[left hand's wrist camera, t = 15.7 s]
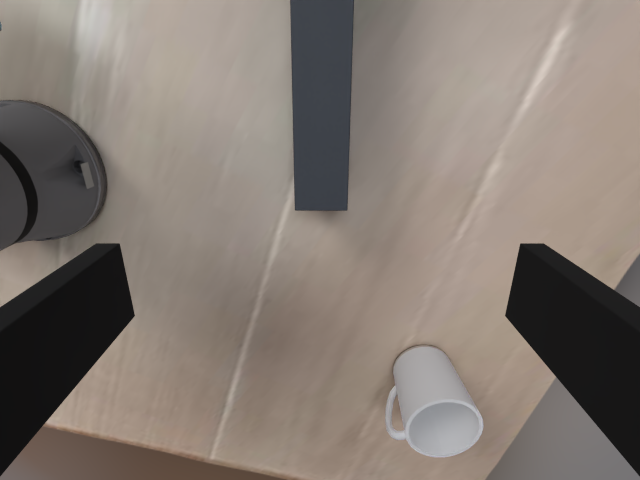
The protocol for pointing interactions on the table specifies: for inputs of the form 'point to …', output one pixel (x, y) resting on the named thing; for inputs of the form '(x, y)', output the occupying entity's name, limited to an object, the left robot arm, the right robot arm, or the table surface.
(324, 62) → the beam
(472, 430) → the mug
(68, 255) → the table surface
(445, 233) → the table surface
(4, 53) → the table surface
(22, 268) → the table surface
